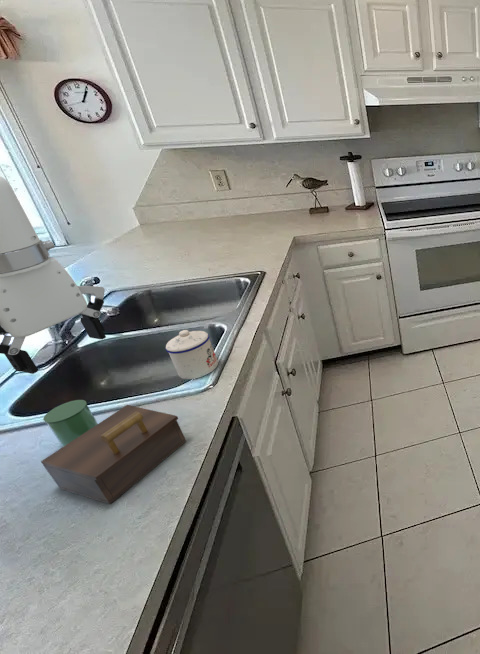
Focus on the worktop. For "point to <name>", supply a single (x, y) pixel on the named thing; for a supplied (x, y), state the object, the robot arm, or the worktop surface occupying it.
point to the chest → (122, 468)
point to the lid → (110, 442)
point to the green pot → (70, 420)
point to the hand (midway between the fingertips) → (66, 353)
